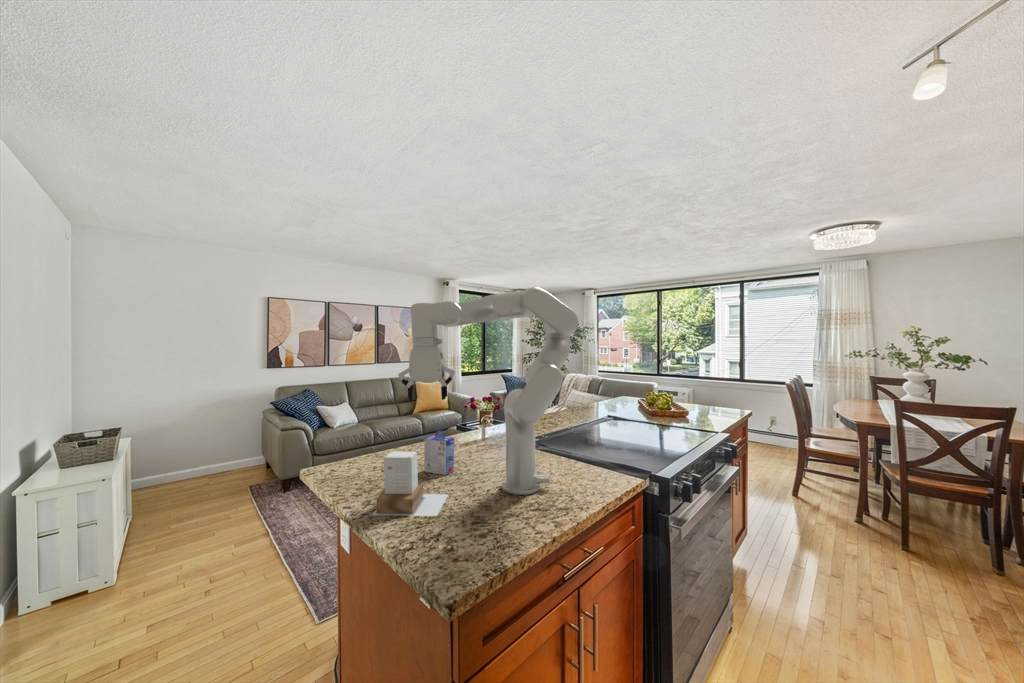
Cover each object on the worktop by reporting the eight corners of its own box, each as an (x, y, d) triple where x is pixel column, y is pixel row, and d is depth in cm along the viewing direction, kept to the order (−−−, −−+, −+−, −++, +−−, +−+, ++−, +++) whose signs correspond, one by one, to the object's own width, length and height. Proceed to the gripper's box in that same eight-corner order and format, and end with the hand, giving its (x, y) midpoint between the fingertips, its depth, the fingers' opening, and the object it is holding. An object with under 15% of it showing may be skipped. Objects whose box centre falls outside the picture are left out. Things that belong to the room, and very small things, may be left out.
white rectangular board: (448, 495, 114) (448, 494, 114) (436, 517, 100) (436, 515, 100) (390, 494, 115) (390, 493, 115) (371, 516, 101) (371, 514, 101)
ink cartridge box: (455, 470, 136) (454, 431, 136) (446, 475, 131) (446, 434, 131) (432, 467, 140) (432, 428, 140) (423, 471, 135) (423, 432, 135)
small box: (418, 486, 110) (417, 451, 110) (412, 494, 104) (411, 457, 104) (391, 486, 110) (391, 451, 110) (384, 494, 104) (383, 457, 104)
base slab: (423, 498, 111) (423, 484, 111) (412, 513, 101) (412, 498, 101) (390, 497, 112) (390, 484, 112) (376, 513, 102) (376, 498, 102)
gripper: (455, 342, 117) (458, 396, 117) (401, 344, 117) (403, 399, 117) (451, 342, 109) (454, 400, 109) (392, 345, 110) (396, 403, 110)
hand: (428, 399), depth 113 cm, fingers open, 9 cm apart
